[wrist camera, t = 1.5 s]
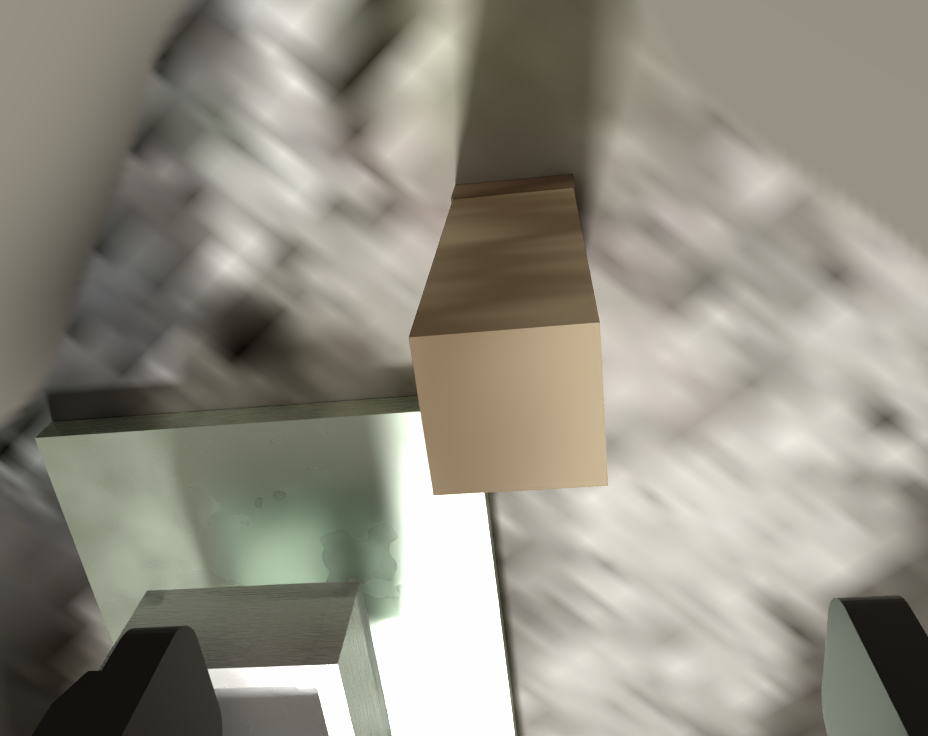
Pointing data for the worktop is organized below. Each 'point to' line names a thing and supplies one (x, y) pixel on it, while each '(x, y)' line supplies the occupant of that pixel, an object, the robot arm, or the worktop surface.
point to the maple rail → (511, 344)
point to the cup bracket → (296, 563)
